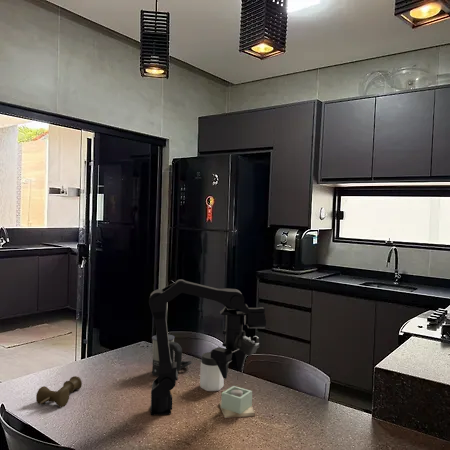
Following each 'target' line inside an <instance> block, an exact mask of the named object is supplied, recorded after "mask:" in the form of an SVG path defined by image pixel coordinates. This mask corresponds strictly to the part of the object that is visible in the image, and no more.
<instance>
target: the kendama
mask: <svg viewBox="0 0 450 450" xmlns="http://www.w3.org/2000/svg"><path fill="white" fill-rule="evenodd" d="M82 385H83V382H82V379H81V378H80V377H79V376H77V375H75V376H71V377H70V379H69V380H66V381H64V382H63V385H62V387H60V388H59V389H58V390H51V389H50V388H48V387H47V386H41V387H39V388H38V390H37V392H36V394H35V395H36V397H35V399H36V403H37V404H38V405H42V404H45V403H47V402H53V403H55V404H56V405H57V406H58V407H59V408H63V407H65V406H66V405H67V404H68V402H69V400H70V394H72V393H73V392H74V391H79V390H80V389H81V388H82Z"/></svg>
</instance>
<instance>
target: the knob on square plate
mask: <svg viewBox="0 0 450 450" xmlns="http://www.w3.org/2000/svg"><path fill="white" fill-rule="evenodd" d="M231 395H234V396H238V397H241V396H242V395H243V392H242V391H241V390H232V391H231ZM218 402H219V403H218V404H219V405H218V406H219V408H220V410H221V412H222V414H223V417H224V418H225V419H226V418H243V417H254V416H255V417H256V412H255V409H254V408H253V405H252V406H251V407H249V408H248V409H247V410H245V411H244V412H242V413H241V414H239V413H236V412H233V411H229V410H226V409H223V408H221V400H220V401H218Z"/></svg>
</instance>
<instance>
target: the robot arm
mask: <svg viewBox="0 0 450 450" xmlns="http://www.w3.org/2000/svg"><path fill="white" fill-rule="evenodd" d="M181 294H185V295H189V296H194V297H198V298H203V299H205V300H210V301H216V302H217V303H220V304H221V305H223V306H224V307H223V309H221V310H219V313H220V315H221V316H225V329H224V330H222V334H223V335H225V336H224V342H222V347H221V346H218V347H215V348H213V349H212V350H210V352H211V353H210V358H212V359H213V360H215V362H216V363H217V365H218V367H219V370H220V372H221V374H222V376H223V378H224V379H225V380H227V378H228V372H229V364H230V363H231V362H232V361H233V359H232V358H233V353H234V356H235V361H236V366H237V371H240V372H241V371H242V370H243V367H244V364H245V361H246V359H247V356H252V355H253V354H256V353H257V350H258V348H260V337H258V336H257V335H254V336H253V337H251V336H249V337H248V336H246V334H247V333H246V330H244V329H243V327H244V326H247V329H266V325H267V319H266V313H265V311H266V310H265V308H264V307H263V306H262V307H261V306H260V307H259V306H258V307H249V306H248V304H247V303H245V297H244V295H243V293H242V292H241V291H240V290H239V289H236V288H216V287H214V286H208V285H205V284H199V283H196V282H192V281H188V280H185V279H182V278H181V279H177V280H176V281H175V282H173V283H171V284H169V285H167V286H165V287H164V288H162V289H159V288H158V289H155V290H154V291H152V292H151V293H150V296H149V298H148V305H149V309H150V312H151V315H152V317H153V320H154V326H155V335H156V336H157V345H158V354H159V373H158V376H156V378H155V379H154V380H153V381H152V385H151V390H150V406H149V407H150V409H149V410H150V411H149V412H150V416H162V415H163V416H164V415H171V414H172V410H173V395H172V393H171V390H173V389H174V387H176V381H178V380H179V371H177V369H176V364H177V362H174V363H173V362H172V360H171V357H170V348H169V339H168V335H169V332H168V331H169V330H168V323H167V309H168V303H169V302H171V301H172V300H174V299H175V298H176V297H178V296H179V295H181ZM227 307H228V308H227ZM237 310H239V311H237ZM243 323H244V325H243ZM224 347H225V348H224Z"/></svg>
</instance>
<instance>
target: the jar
mask: <svg viewBox="0 0 450 450" xmlns="http://www.w3.org/2000/svg"><path fill="white" fill-rule="evenodd" d="M210 353H211V351H208V352H204V353H203V354H202V355H201V362H200V369H199V370H200V372H199V373H200V376H199V377H200V378H199V379H200V380H199V387H200V388H201V389H202V390H205V391H207V392H217V391H218V392H219V391H221V390H222V389H223V387H224V386H225V385H224V383H225V382H224V381H225V380H224V378H223V376H222V374H221V372H220V370H219V367H218V365H217V363H216V362H215V360H213V359H212V358H210Z"/></svg>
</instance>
